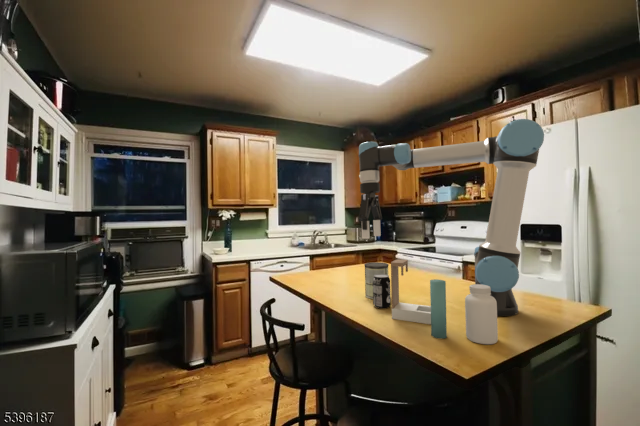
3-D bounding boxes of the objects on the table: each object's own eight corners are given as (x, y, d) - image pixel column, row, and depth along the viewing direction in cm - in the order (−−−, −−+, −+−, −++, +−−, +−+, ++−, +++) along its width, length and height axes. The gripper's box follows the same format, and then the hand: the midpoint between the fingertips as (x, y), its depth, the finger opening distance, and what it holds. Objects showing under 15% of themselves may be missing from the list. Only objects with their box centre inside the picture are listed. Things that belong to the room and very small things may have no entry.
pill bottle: (460, 334, 89) (459, 283, 89) (486, 333, 90) (485, 282, 90) (476, 346, 81) (475, 290, 81) (504, 344, 82) (503, 289, 82)
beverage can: (389, 304, 120) (388, 273, 120) (391, 309, 114) (391, 277, 114) (372, 303, 121) (372, 273, 121) (374, 308, 114) (373, 277, 114)
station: (438, 317, 104) (437, 261, 104) (435, 325, 97) (434, 265, 97) (397, 311, 110) (396, 259, 111) (391, 318, 103) (390, 262, 104)
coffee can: (362, 294, 136) (361, 262, 136) (383, 292, 138) (383, 261, 138) (369, 300, 126) (369, 266, 126) (393, 298, 127) (392, 265, 127)
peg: (447, 334, 89) (446, 280, 89) (445, 339, 86) (444, 283, 86) (432, 332, 91) (431, 278, 91) (430, 337, 88) (429, 281, 88)
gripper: (370, 185, 131) (372, 235, 130) (348, 180, 109) (350, 239, 108) (388, 184, 127) (390, 234, 127) (368, 178, 105) (370, 239, 105)
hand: (371, 237), depth 118 cm, fingers open, 13 cm apart
